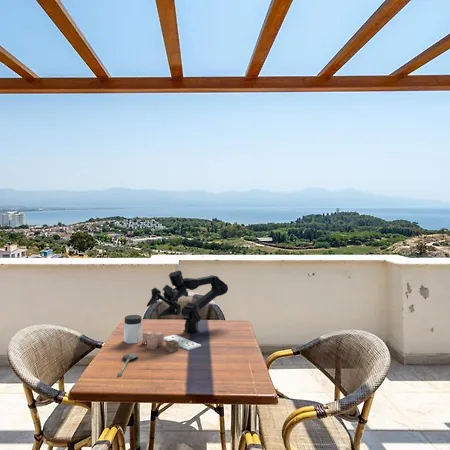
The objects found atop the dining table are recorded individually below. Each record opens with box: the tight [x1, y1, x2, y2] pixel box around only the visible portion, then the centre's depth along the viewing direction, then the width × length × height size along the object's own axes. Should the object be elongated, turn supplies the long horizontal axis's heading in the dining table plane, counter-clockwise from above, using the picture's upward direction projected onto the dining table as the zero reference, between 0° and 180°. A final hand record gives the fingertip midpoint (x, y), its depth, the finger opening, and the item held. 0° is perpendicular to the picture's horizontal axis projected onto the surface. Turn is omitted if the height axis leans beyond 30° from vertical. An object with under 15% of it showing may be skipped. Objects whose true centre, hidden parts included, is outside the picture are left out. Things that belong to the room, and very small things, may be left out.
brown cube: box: [165, 340, 179, 353], centre depth 176 cm, size 4×4×4 cm
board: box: [164, 333, 202, 351], centre depth 186 cm, size 8×21×1 cm, turn 45°
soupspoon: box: [117, 352, 139, 377], centre depth 158 cm, size 22×3×7 cm
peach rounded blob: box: [146, 335, 159, 350], centre depth 179 cm, size 5×5×5 cm
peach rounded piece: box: [141, 330, 154, 346], centre depth 185 cm, size 5×5×5 cm
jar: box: [123, 314, 143, 345], centre depth 187 cm, size 9×8×12 cm
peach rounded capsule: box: [153, 331, 165, 347], centre depth 184 cm, size 5×5×5 cm
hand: (153, 310), depth 185 cm, fingers open, 9 cm apart
